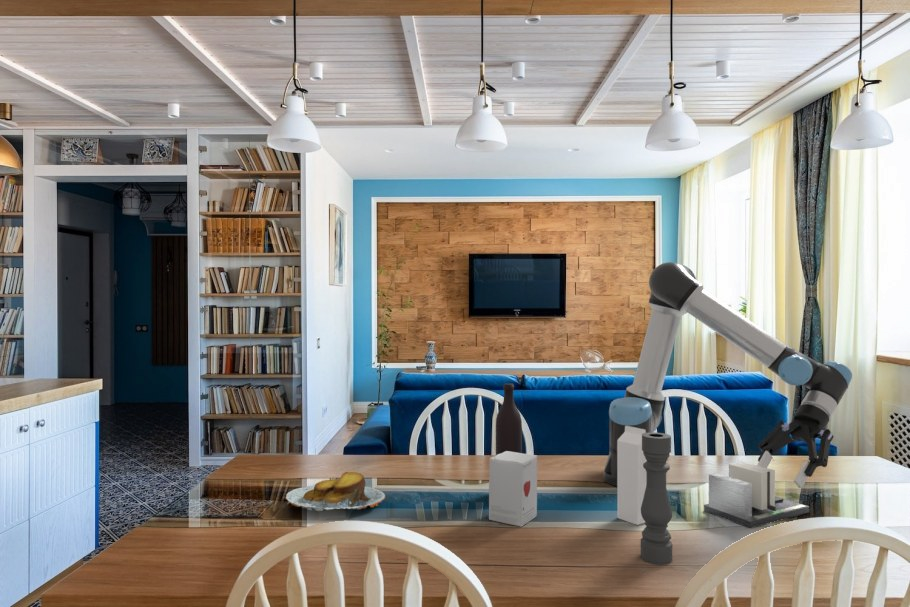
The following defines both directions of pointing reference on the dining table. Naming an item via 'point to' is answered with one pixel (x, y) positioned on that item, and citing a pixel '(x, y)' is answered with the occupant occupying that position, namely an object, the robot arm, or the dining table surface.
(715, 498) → the frame
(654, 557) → the candle holder
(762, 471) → the block
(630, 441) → the milk
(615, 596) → the dining table surface
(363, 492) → the food on plate
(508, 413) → the wine bottle
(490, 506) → the supplement box
